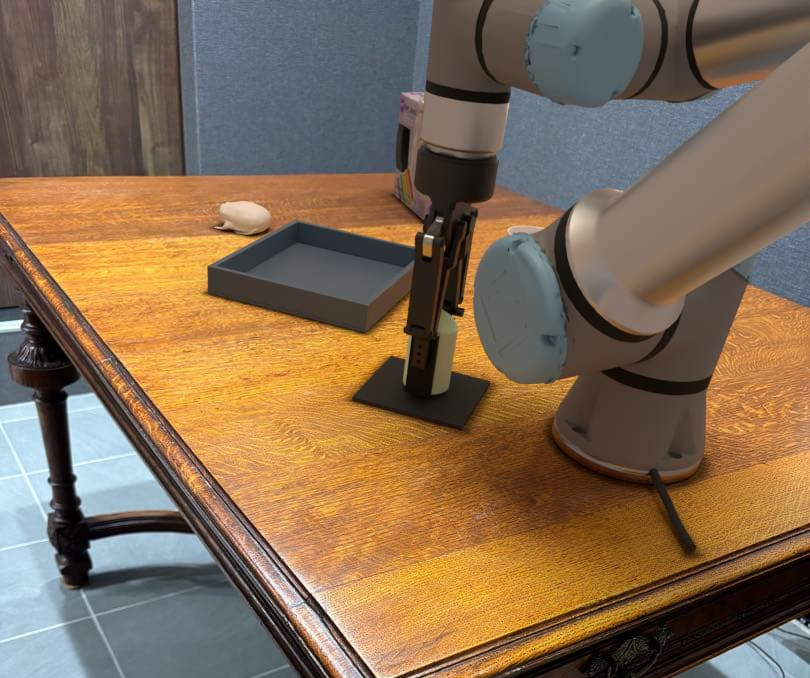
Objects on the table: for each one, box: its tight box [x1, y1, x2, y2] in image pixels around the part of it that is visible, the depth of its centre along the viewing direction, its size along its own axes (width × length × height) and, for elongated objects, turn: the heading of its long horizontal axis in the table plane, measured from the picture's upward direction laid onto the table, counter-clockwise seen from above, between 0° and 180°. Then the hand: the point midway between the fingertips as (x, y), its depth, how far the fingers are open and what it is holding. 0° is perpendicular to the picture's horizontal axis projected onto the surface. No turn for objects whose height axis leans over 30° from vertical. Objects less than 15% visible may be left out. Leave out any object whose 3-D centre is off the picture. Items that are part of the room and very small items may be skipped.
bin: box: [206, 219, 415, 334], centre depth 110 cm, size 26×22×4 cm
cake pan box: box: [393, 91, 432, 221], centre depth 142 cm, size 19×5×18 cm, turn 17°
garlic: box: [213, 200, 272, 236], centre depth 124 cm, size 8×7×4 cm
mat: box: [351, 355, 491, 430], centre depth 88 cm, size 12×12×1 cm
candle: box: [403, 309, 459, 395], centre depth 85 cm, size 5×5×8 cm
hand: (426, 382), depth 87 cm, fingers closed on candle, 5 cm apart
